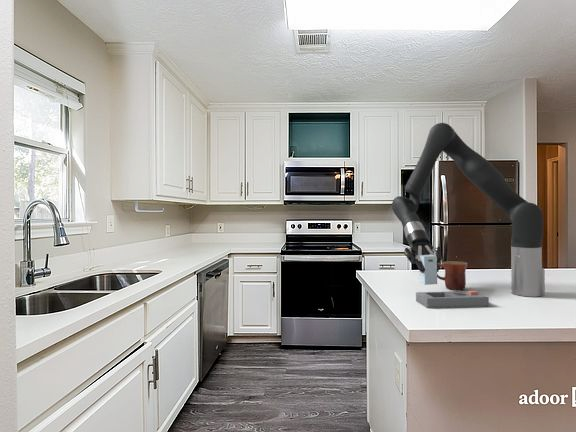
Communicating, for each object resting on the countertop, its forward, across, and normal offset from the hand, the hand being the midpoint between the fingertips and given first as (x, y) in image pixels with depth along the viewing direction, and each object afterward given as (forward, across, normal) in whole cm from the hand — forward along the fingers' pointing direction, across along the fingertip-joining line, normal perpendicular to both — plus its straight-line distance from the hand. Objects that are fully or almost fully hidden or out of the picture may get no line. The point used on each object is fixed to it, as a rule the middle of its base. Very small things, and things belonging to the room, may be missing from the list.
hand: (430, 271), depth 128 cm
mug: (-2, +14, +16) cm, 21 cm away
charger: (+2, 0, +5) cm, 5 cm away
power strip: (+13, +3, 0) cm, 13 cm away
